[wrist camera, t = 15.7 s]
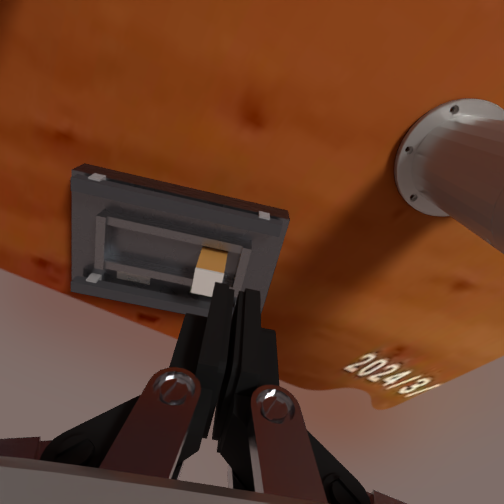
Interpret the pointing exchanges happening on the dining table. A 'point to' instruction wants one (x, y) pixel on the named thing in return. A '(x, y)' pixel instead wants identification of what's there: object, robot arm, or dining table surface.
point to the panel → (167, 240)
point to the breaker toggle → (209, 271)
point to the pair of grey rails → (165, 203)
